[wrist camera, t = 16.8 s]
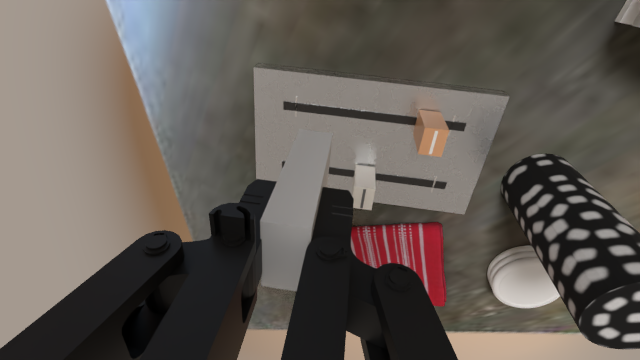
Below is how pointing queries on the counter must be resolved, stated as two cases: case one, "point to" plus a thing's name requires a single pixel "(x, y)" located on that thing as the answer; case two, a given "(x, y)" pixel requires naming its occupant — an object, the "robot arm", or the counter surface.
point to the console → (377, 131)
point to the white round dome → (521, 279)
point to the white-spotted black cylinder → (580, 247)
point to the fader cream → (363, 187)
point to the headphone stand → (630, 13)
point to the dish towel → (405, 251)
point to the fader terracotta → (430, 133)
